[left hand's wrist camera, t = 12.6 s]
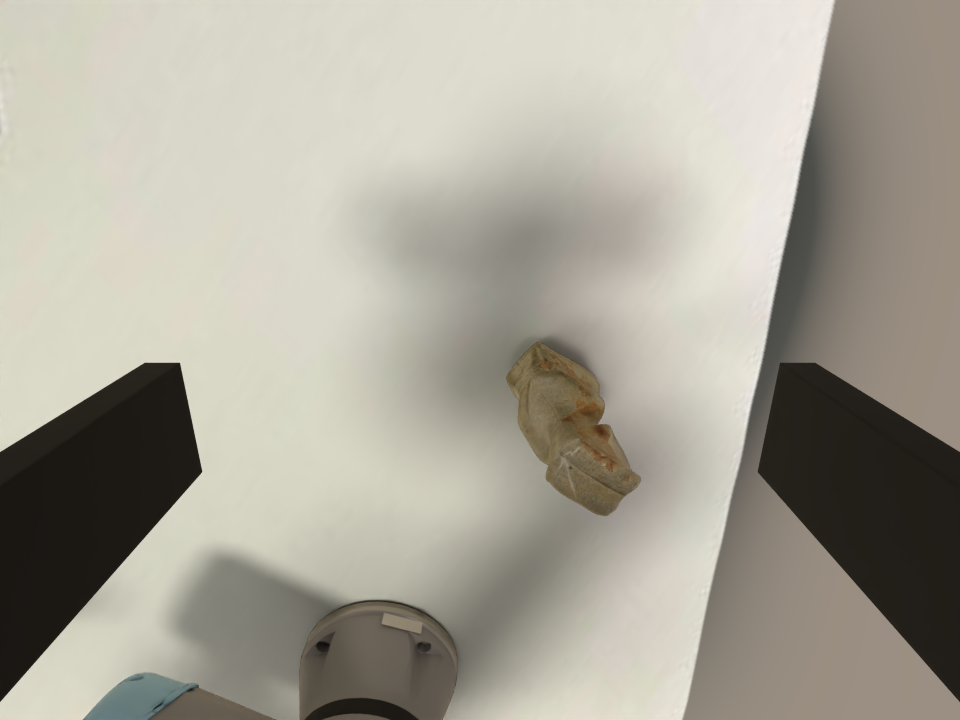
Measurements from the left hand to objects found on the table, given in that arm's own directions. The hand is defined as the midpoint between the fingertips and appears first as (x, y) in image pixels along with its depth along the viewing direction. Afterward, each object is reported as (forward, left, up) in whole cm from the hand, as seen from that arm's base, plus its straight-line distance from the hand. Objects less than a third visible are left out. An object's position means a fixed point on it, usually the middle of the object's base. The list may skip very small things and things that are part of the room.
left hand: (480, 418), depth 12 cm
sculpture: (-11, -6, -30) cm, 32 cm away
